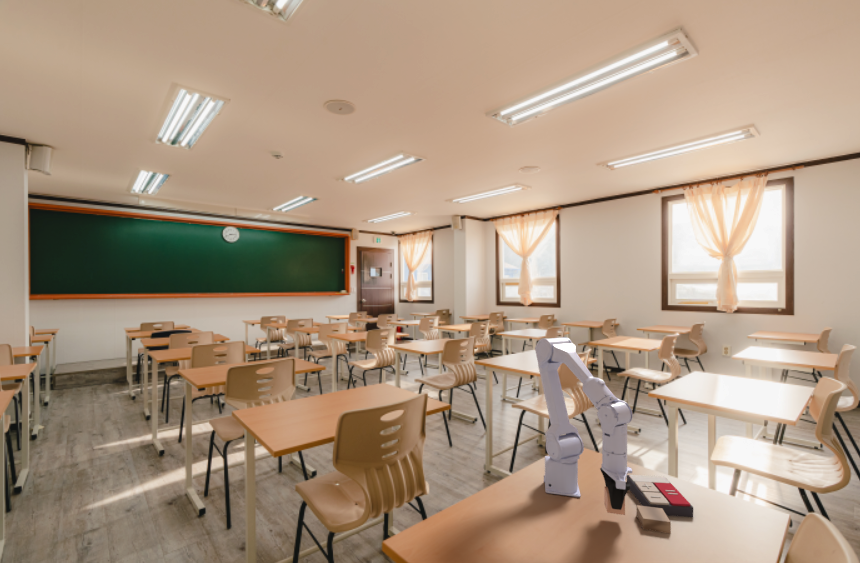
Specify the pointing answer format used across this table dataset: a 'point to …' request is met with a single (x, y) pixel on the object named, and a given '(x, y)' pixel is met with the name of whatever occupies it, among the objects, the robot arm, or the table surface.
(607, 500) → the terracotta block
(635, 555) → the table surface
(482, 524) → the table surface
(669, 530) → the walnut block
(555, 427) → the robot arm
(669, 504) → the calculator
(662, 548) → the table surface
